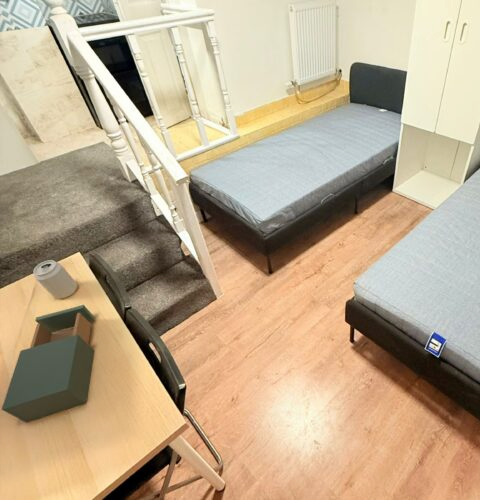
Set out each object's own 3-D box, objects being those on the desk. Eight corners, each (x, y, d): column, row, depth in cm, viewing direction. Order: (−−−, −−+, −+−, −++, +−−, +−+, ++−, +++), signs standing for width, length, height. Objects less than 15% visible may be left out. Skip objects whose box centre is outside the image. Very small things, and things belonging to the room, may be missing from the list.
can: (80, 279, 114) (59, 255, 106) (77, 295, 109) (55, 271, 101) (55, 286, 113) (33, 262, 104) (51, 303, 108) (27, 279, 99)
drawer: (51, 326, 100) (36, 314, 95) (96, 314, 103) (84, 301, 98) (38, 374, 90) (21, 362, 85) (88, 359, 92) (75, 347, 87)
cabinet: (41, 365, 92) (20, 350, 86) (94, 350, 95) (78, 334, 89) (26, 422, 82) (1, 409, 76) (86, 403, 85) (67, 389, 79)
